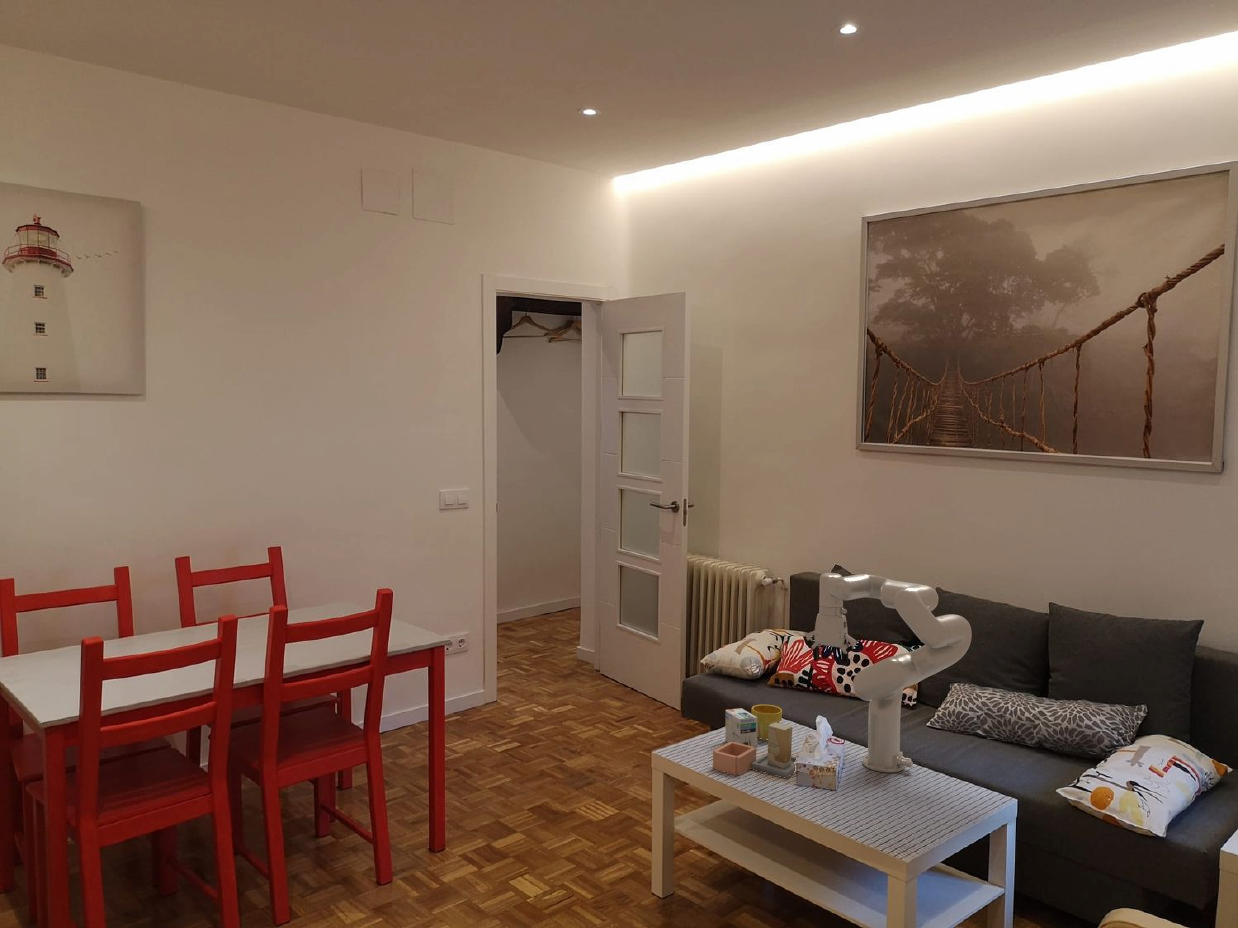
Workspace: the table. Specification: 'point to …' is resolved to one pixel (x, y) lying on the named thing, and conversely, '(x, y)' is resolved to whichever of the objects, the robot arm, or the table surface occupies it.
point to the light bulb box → (741, 727)
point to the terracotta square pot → (734, 758)
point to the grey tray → (773, 767)
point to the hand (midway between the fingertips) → (830, 662)
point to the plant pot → (766, 718)
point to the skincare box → (779, 745)
